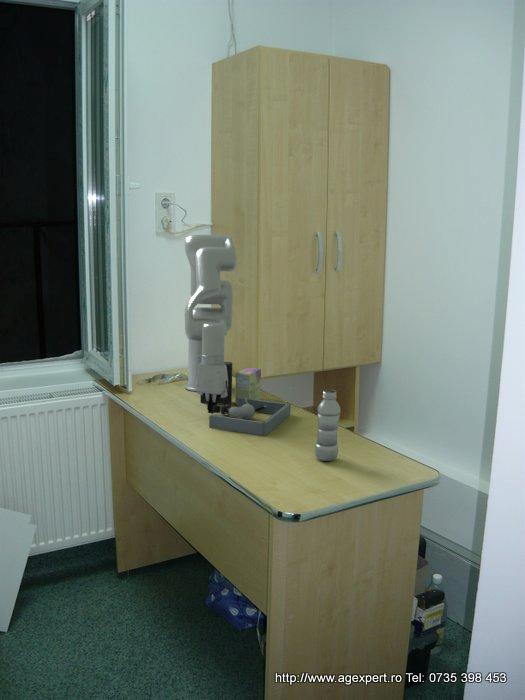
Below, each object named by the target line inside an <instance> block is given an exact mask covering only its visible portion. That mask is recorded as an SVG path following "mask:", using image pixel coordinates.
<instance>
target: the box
mask: <svg viewBox="0 0 525 700" xmlns="http://www.w3.org/2000/svg"><path fill="white" fill-rule="evenodd" d="M261 384H262V369H261V368H257V367H246V368H244V369H241V370H239V371H237V372H235V394H234V395H235V396H234V397H235V400H234V402H235V405H237V399H238V397H242V398H250V399H257V400H262V399H261V392H262V391H261V390H262V388H261V386H262V385H261Z"/></svg>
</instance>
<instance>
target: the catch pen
mask: <svg viewBox="0 0 525 700" xmlns="http://www.w3.org/2000/svg"><path fill="white" fill-rule="evenodd" d="M246 399H247V401H248V403H249V404H250V405H252V406H253V407H254V409H256V408H259V407H261V406H267V407H265V408H263V409H261V410H259V411H255V413H256V412H257V413H264V414H272V415H271V416H269V417H268V418H266V420H264V421H259V420H253V419H252V420H251V419H244V418H238V417H231V416H225V417H224V415H223V416H222V415H215V414H209V418H208V419H209V425H208V426H209V427H208V428H209V429H217V430H221V431H222V430H223V431H228V432H229V431H230V432H237V433H241V434H242V433H244V434H249V435H256V436H263V437H266V436H268V434H270V433H271V432H272V431H273V430H274V429H275V428H276V427H278V426H279V425H280V424H282V422H284V421H285V420H286V419H287V418H289V417H290V416H291V405H292V404H291V403H287V402H279V401H270V400H263V399H260V400H257V399H250V398H246ZM248 403H246V400H245V398H242V397H238V399H237V404H236V407H242V406H243V405H244V404H248Z"/></svg>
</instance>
